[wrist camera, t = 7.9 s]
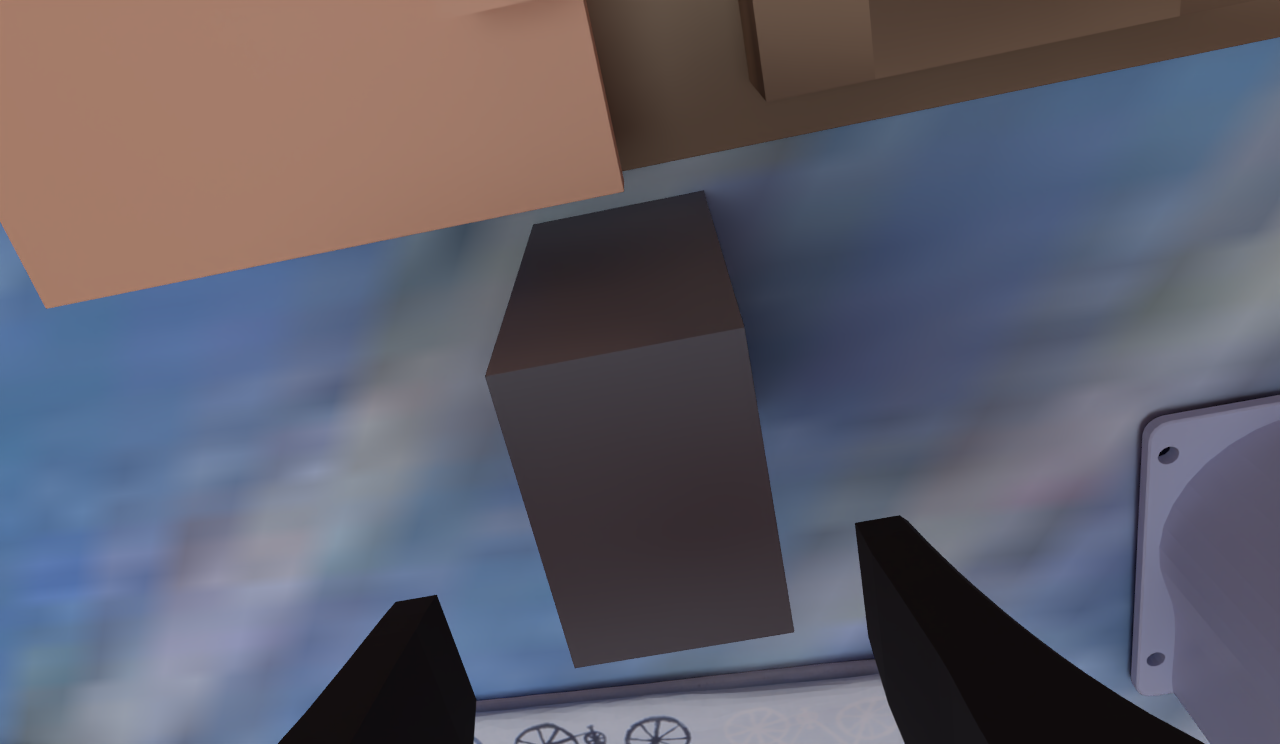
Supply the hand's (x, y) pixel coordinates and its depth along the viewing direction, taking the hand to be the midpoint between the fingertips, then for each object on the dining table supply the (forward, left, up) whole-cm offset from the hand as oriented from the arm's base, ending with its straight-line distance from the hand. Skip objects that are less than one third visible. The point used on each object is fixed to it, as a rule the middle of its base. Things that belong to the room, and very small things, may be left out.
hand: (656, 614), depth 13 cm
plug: (0, 0, -10) cm, 10 cm away
